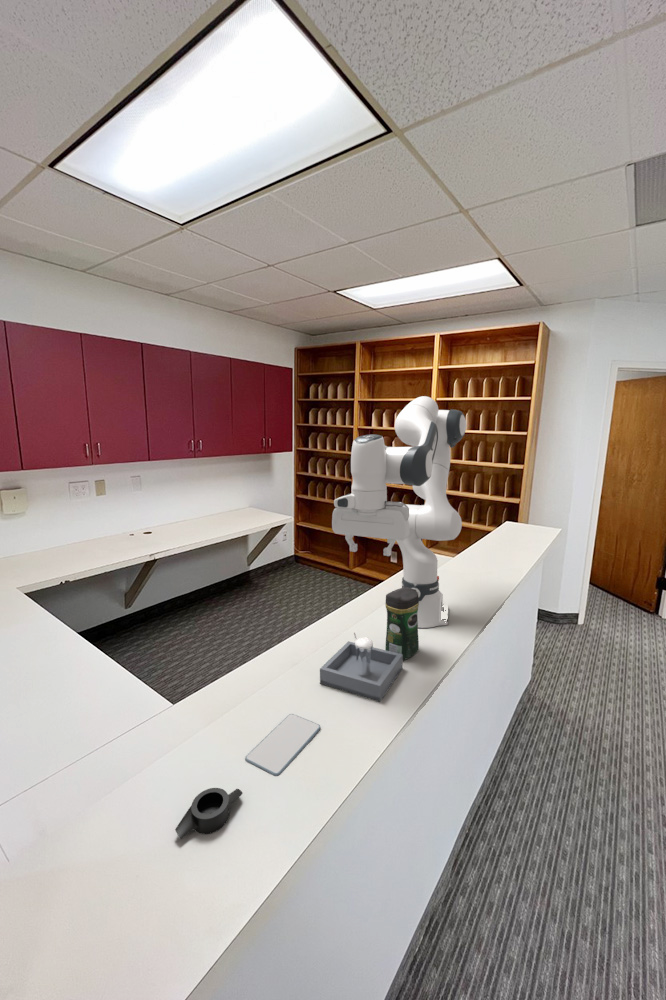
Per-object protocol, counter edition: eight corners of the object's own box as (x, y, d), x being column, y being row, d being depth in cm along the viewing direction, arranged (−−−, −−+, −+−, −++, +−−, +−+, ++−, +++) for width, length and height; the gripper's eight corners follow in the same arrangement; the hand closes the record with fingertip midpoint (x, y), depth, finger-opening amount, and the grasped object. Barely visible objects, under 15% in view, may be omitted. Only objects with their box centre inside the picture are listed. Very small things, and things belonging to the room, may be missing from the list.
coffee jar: (400, 642, 124) (400, 582, 121) (422, 651, 118) (424, 589, 116) (380, 654, 117) (380, 591, 114) (403, 664, 111) (404, 598, 109)
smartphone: (242, 757, 78) (290, 712, 91) (243, 762, 78) (290, 716, 91) (277, 775, 74) (322, 725, 87) (277, 780, 74) (322, 729, 87)
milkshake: (359, 665, 109) (359, 629, 108) (376, 671, 106) (376, 635, 104) (349, 672, 106) (348, 635, 104) (366, 679, 102) (366, 642, 101)
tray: (348, 654, 117) (348, 641, 116) (402, 668, 109) (402, 654, 109) (320, 683, 103) (319, 668, 102) (379, 702, 95) (379, 686, 95)
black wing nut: (242, 835, 64) (241, 818, 63) (174, 847, 62) (172, 830, 61) (243, 793, 71) (242, 778, 71) (182, 803, 69) (181, 788, 69)
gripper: (413, 500, 101) (413, 554, 104) (339, 496, 111) (341, 545, 113) (404, 504, 96) (405, 561, 98) (328, 500, 105) (330, 552, 108)
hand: (370, 553), depth 106 cm, fingers open, 8 cm apart
